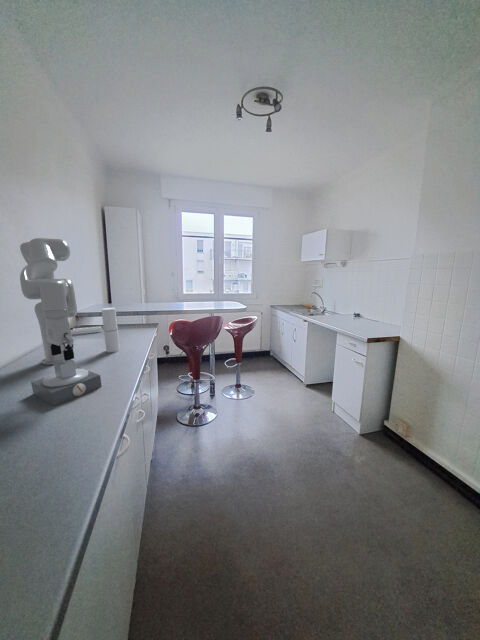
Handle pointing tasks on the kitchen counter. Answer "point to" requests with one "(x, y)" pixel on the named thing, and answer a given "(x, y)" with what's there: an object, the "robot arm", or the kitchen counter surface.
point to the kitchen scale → (65, 386)
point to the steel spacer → (65, 369)
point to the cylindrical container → (110, 329)
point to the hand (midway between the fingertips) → (63, 356)
